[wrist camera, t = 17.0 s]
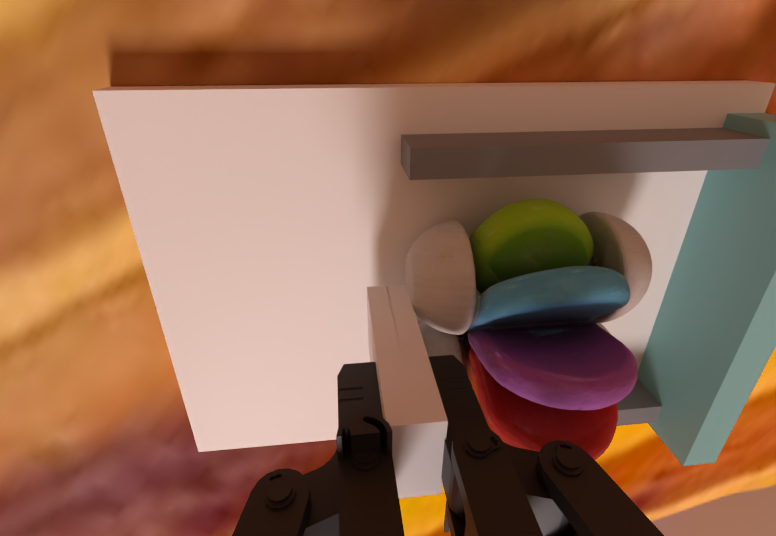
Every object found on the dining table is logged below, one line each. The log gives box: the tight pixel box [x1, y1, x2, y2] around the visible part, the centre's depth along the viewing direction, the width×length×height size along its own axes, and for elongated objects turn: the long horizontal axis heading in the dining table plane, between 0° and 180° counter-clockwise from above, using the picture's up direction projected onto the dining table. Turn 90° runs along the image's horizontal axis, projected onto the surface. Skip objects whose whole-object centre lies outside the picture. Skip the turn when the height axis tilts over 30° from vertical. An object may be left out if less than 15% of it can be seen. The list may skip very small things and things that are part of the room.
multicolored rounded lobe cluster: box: [405, 198, 652, 460], centre depth 15 cm, size 8×10×7 cm
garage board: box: [92, 80, 776, 466], centre depth 17 cm, size 23×16×5 cm
